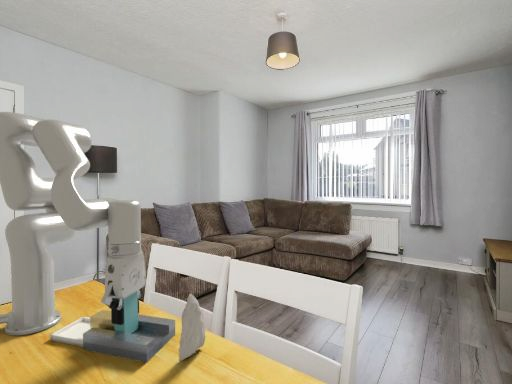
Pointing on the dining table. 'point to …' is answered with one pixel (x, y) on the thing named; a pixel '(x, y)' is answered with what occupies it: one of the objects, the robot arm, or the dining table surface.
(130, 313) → the teal rectangular block
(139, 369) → the dining table surface
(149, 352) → the slot board
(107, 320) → the gold cube
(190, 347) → the stone tool
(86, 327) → the tray
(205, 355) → the dining table surface
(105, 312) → the chip
